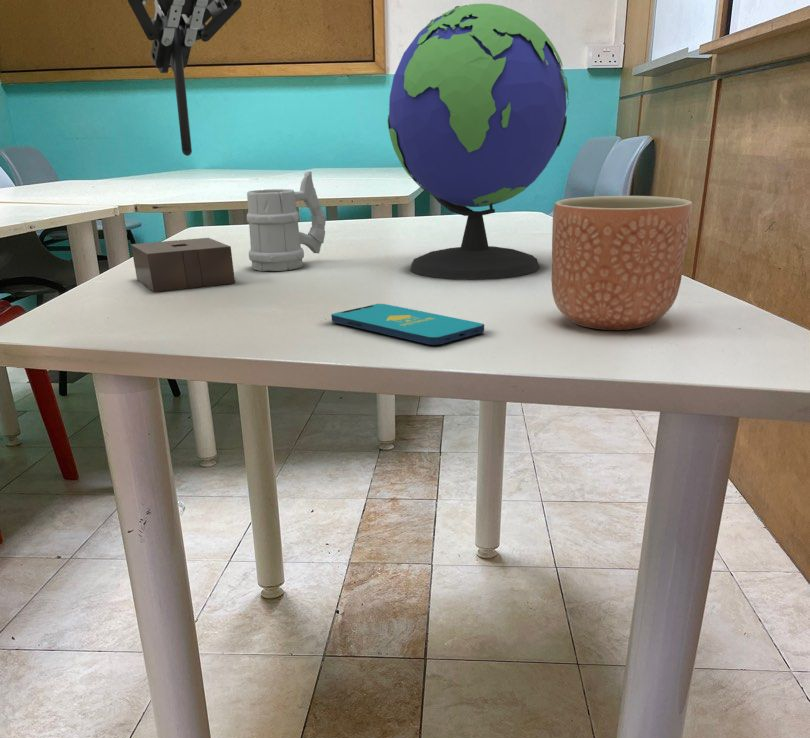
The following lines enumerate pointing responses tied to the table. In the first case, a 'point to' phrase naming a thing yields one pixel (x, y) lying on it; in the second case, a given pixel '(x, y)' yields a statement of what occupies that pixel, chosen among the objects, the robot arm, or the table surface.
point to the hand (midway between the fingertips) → (167, 67)
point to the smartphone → (408, 323)
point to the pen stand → (183, 264)
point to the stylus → (181, 93)
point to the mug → (283, 226)
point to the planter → (618, 258)
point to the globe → (477, 125)
